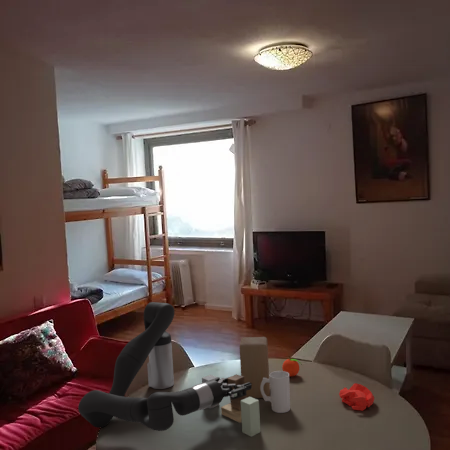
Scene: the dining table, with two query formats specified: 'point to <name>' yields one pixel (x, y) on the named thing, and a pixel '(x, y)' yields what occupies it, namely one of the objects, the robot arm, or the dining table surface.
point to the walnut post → (238, 381)
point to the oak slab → (231, 413)
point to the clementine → (291, 367)
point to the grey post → (208, 380)
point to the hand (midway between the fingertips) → (242, 382)
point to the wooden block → (255, 364)
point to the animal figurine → (357, 397)
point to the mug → (278, 391)
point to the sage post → (250, 416)
